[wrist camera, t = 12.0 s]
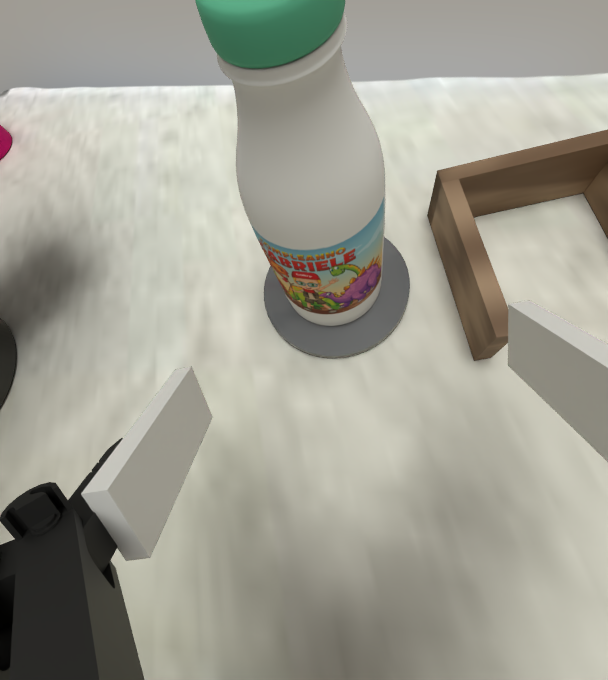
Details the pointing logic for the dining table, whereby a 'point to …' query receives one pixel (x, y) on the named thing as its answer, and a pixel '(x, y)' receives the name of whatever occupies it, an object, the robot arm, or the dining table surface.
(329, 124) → the milk bottle
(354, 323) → the coaster
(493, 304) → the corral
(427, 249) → the dining table surface
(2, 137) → the pepper mill
